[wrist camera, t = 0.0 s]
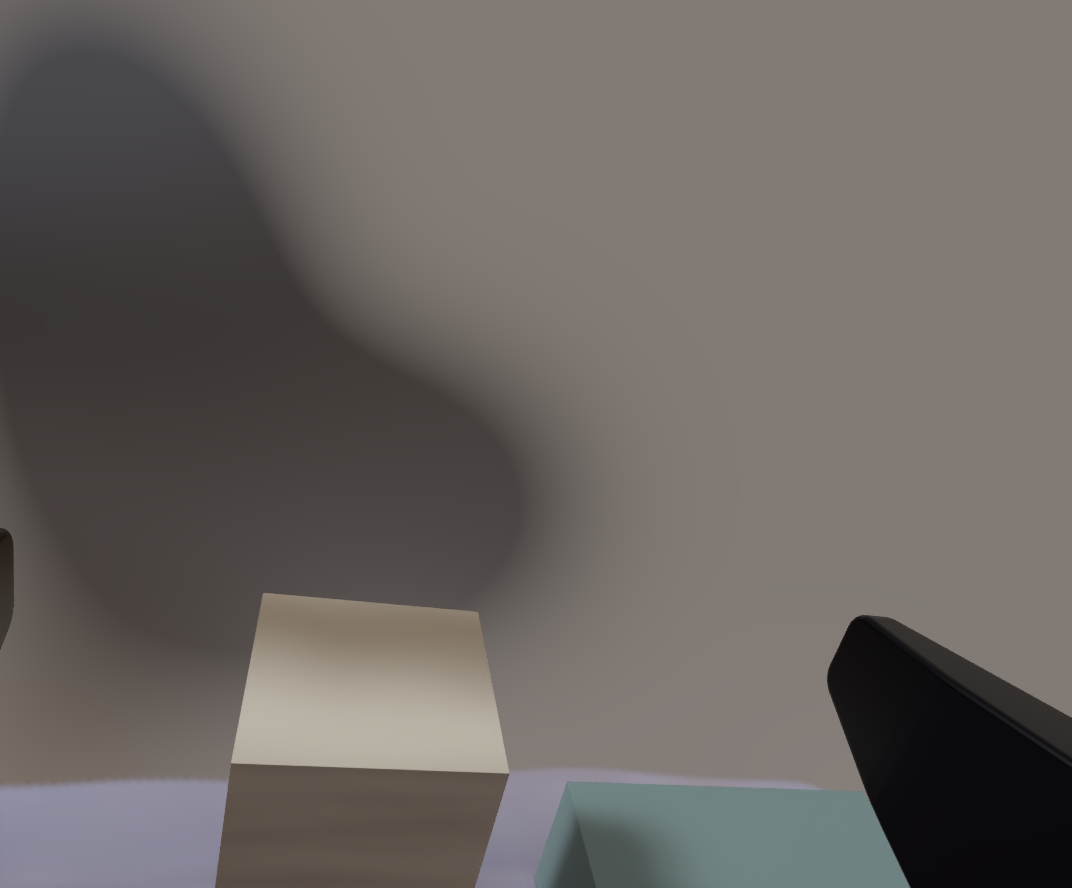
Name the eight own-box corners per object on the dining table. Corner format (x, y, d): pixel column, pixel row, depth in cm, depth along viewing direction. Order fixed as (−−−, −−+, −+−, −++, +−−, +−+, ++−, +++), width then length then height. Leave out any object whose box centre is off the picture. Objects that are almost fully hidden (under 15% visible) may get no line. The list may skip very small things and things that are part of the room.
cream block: (413, 1086, 19) (509, 773, 16) (187, 1101, 18) (230, 762, 14) (405, 893, 24) (477, 612, 20) (222, 893, 23) (263, 593, 19)
